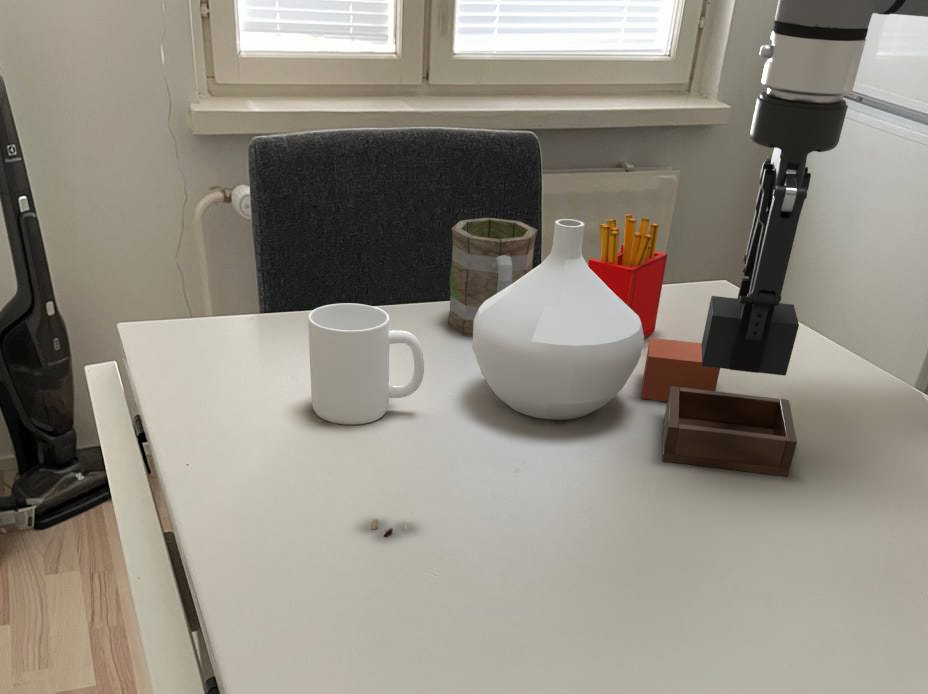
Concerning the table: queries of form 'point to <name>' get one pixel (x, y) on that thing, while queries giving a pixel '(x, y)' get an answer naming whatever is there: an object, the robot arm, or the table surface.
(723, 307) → the dark gray rectangular block
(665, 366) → the reddish brown rectangular block
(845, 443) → the table surface
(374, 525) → the pale spotted flat piece
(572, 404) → the vase
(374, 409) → the cup
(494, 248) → the mug
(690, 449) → the frame
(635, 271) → the french fries container
